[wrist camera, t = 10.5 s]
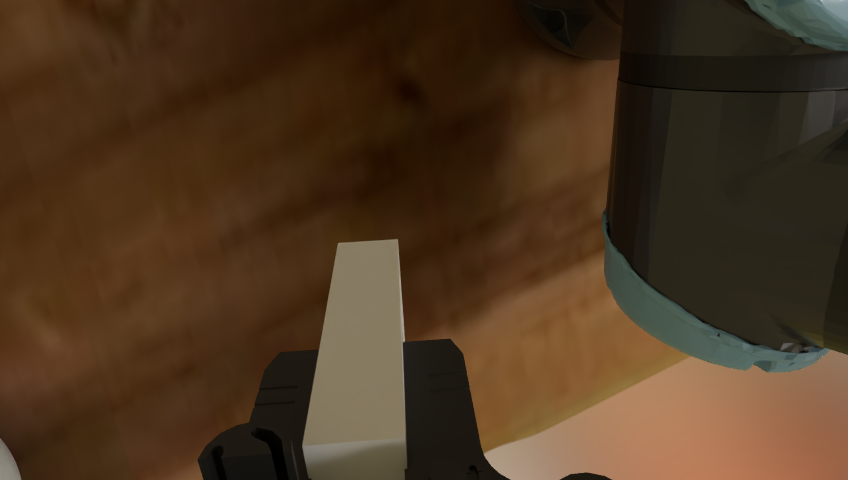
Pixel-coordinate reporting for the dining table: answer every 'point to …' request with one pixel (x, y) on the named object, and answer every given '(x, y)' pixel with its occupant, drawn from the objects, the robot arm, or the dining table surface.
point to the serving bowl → (7, 464)
